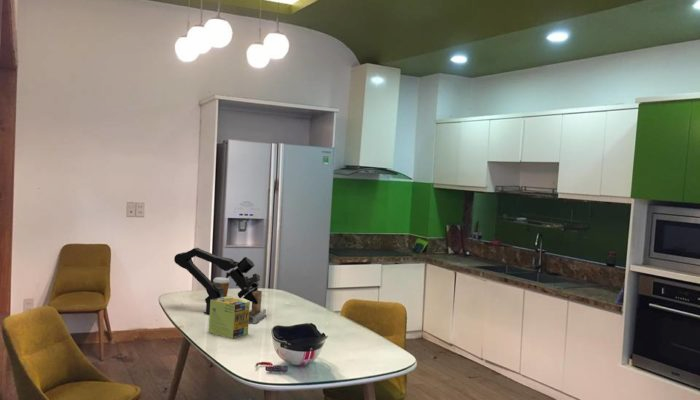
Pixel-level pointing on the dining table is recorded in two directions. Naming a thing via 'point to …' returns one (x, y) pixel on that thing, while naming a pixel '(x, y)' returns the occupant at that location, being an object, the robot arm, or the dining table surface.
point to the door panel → (257, 307)
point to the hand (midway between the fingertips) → (259, 302)
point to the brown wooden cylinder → (223, 283)
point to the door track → (257, 316)
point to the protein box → (229, 317)
